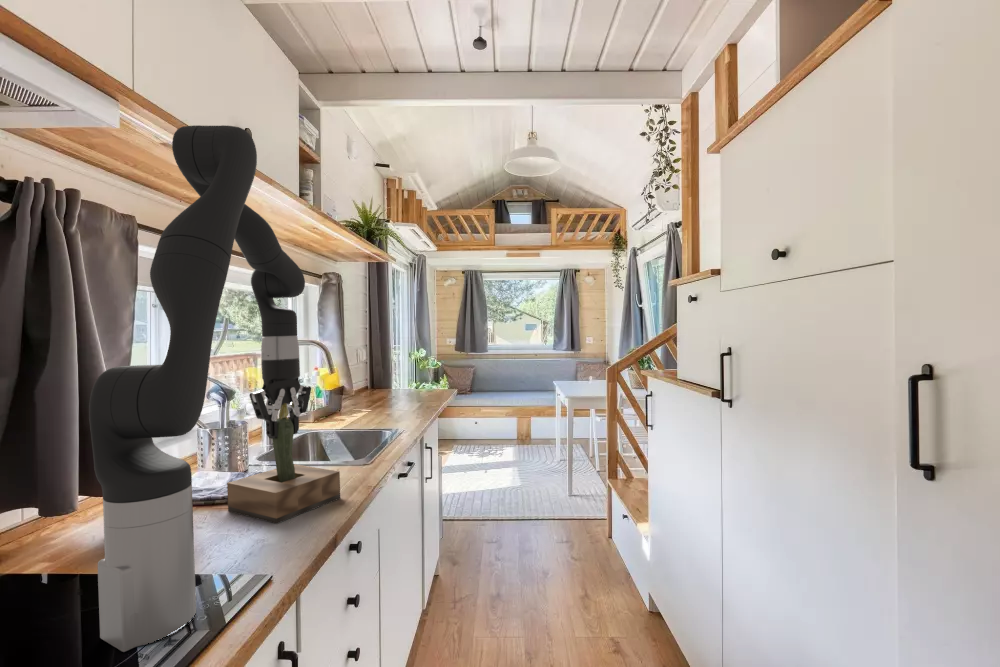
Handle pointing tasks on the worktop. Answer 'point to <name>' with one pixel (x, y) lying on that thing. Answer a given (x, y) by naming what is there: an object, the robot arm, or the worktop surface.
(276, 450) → the vegetable
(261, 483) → the socket block
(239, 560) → the worktop surface
